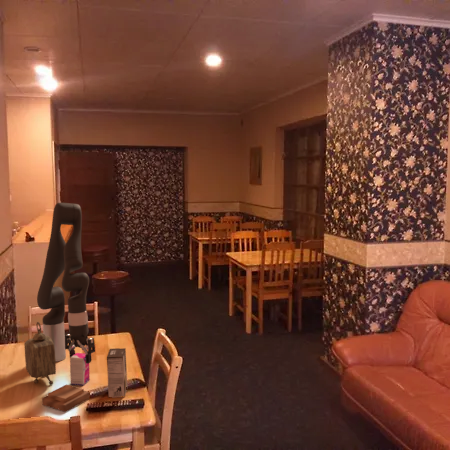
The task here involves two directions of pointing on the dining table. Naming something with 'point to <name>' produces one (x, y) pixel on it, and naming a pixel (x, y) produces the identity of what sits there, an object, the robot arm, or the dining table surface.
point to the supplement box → (79, 369)
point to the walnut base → (65, 405)
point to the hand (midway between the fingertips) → (80, 361)
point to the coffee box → (117, 372)
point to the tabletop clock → (40, 356)
